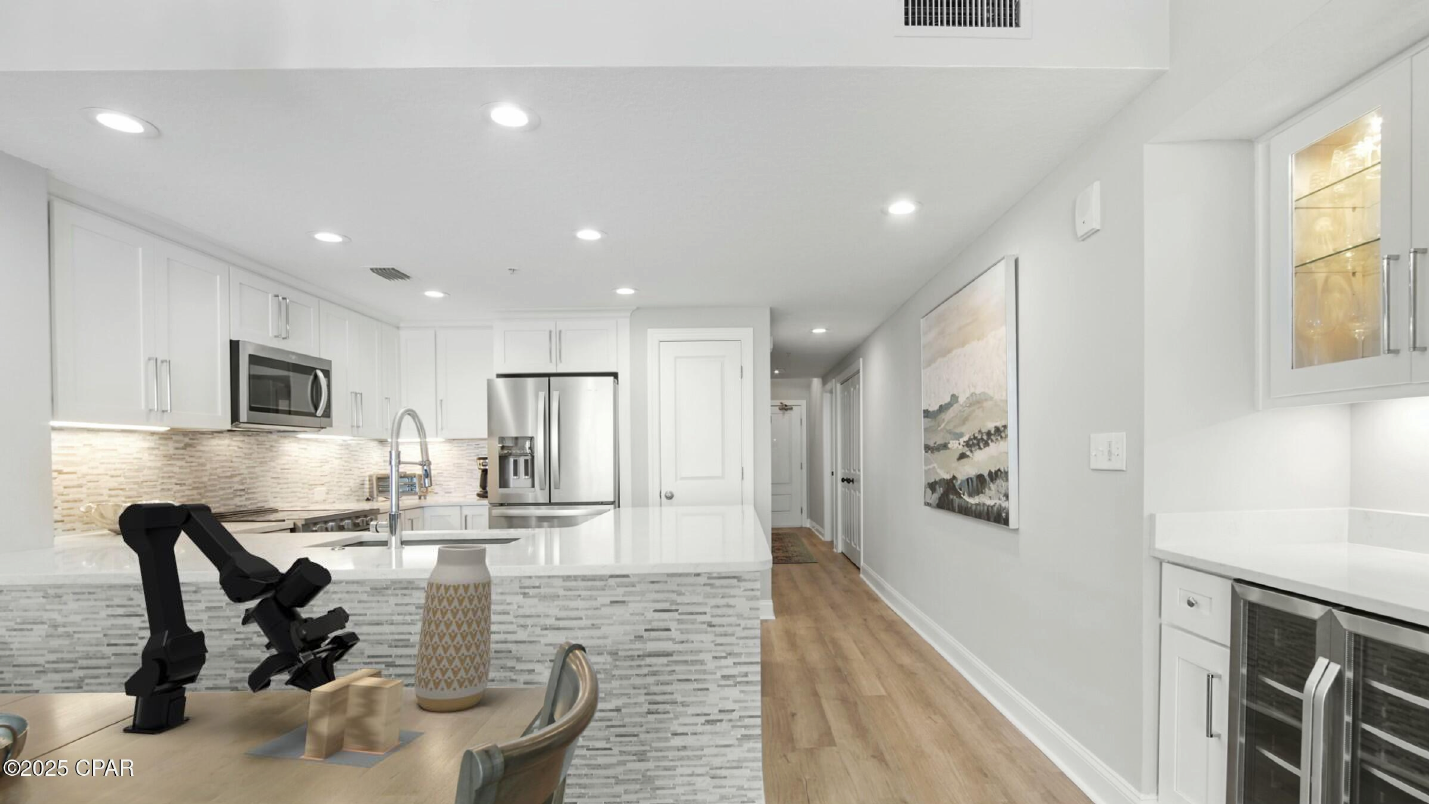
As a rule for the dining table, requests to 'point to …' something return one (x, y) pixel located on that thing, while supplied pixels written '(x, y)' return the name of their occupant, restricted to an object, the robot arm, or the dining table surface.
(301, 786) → the dining table surface
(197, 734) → the dining table surface
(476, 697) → the vase
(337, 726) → the maple T block
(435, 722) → the dining table surface
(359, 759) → the slate mat
